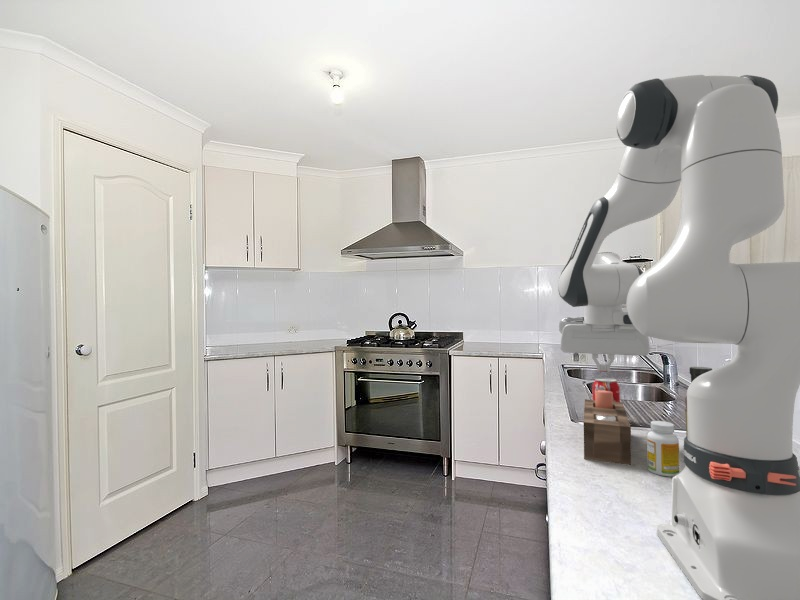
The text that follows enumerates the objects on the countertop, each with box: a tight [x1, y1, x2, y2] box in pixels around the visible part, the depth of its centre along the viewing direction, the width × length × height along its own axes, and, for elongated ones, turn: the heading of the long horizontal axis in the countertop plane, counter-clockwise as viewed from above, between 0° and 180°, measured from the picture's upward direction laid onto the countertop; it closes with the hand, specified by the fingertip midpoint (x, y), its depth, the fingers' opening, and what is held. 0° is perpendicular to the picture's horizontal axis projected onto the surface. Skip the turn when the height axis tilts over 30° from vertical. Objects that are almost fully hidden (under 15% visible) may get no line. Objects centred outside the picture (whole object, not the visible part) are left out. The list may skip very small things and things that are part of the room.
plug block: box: [583, 398, 632, 466], centre depth 98 cm, size 24×9×8 cm, turn 155°
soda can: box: [592, 377, 621, 402], centre depth 119 cm, size 7×7×12 cm
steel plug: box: [596, 414, 616, 421], centre depth 93 cm, size 4×4×7 cm
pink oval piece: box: [595, 390, 613, 409], centre depth 104 cm, size 4×4×7 cm
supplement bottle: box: [646, 420, 680, 478], centre depth 82 cm, size 5×5×10 cm
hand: (603, 371), depth 104 cm, fingers closed
